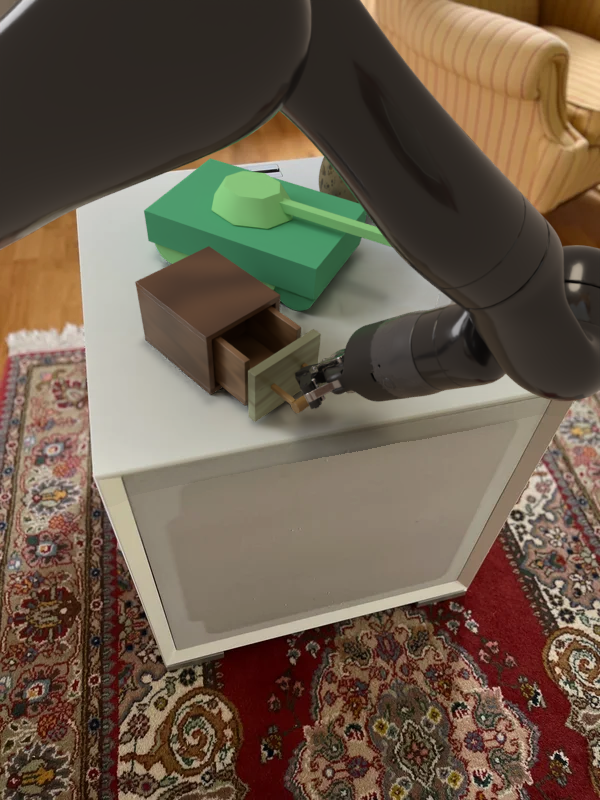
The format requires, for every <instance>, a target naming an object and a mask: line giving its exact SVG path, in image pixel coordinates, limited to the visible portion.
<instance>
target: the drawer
mask: <svg viewBox="0 0 600 800" xmlns="http://www.w3.org/2000/svg"><path fill="white" fill-rule="evenodd" d="M321 337H322V334H321V332H319V331H318V330H316V329H315V328H313V329H311V330H310V331H308V332H307V333H304V334H303V335H302V326H300V325H299V324H298V323H296V322H295V321H293V320H292V319H291V318H289V317H288V316H287V315H285V314H284V313H282V312H281V311H280V312H279V311H278V310H276V309H275V308H274V307H272V306H269V307H267V308H266V309H264V310H262V311H260V312H259V313H257V314H255V315H253V316H252V317H250V318H248V319H247V320H245V321H243V322H241V323H240V324H238V325H236V326H235V327H233V328H231V329H229V330H228V331H226V332H224V333H223V334H221V335H219V336H217V337H216V338H214V339H212V351H213V366H214V380H215V381H216V382H217V383H218V384H220V385H221V386H222V387H223V388H222V389H224V390H225V391H227V392H228V393H229V394H231V395H232V396H233V397H234V398H235V399H236V400H237V401H239V402H240V403H241V404H242V405H244V406H248V410H247V411H248V418H249V419H250V420H251V421H253V422H254V423H256V422H258V421H260V420H261V419H262V418H264V417H265V416H267V415H268V414H269V413H271V412H272V411H274V410H275V409H276V408H279V406H281V405H282V404H284V403H286V402H287V404H289V405H290V407H291V409H292V411H293V412H294V413H296V414H301V413H302V412H303V411H305V410H306V409H307V408H308V407H309V408H310V406H309V404H308V402H307V400H306V399H305V397H304V395H301V396H300V397H298V398H294V396H296V394H298V393H300V392H302V391H301V389H300V386H299V384H298V382H297V380H296V379H295V377H296V376H295V373H296V372H297V371H299V370H300V369H302V368H303V367H305V366H308V365H313V364H317V363H319V356H320V348H321V347H320V346H321Z"/></svg>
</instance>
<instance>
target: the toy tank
mask: <svg viewBox="0 0 600 800" xmlns="http://www.w3.org/2000/svg"><path fill="white" fill-rule="evenodd" d="M143 212H144V221H145V226H146V234H147V240H148V242H150V243H153V244H154V246H155V248H156V250H157V252H158V253H159V254H160V256H161V258H163V259H164V260H165V261H166V262H167V263H169V264H170V265H171V264H173V263H175V262H177V261H179V260H181V259H183V258H185V257H187V256H190V255H192V254H194V253H196V252H198V251H200V250H202V249H204V248H206V247H208V246H210V247H211V248H212V249H214V250H215V251H217V252H218V253H220V254H221V255H223V256H224V257H226V258H227V259H228V260H230V261H231V262H233V263H234V264H236V265H237V266H239V267H240V268H242V269H243V270H244V271H246V272H247V273H249V274H250V275H252V276H253V277H255V278H256V279H258V280H259V281H260V282H262V283H263V284H265V285H266V286H268V287H269V288H271V289H272V290H274V291H275V292H276V293H278V294H279V295H280V303H281V304H283V305H285V307H287V308H289V309H291V310H292V311H297V312H302V311H307V310H308V309H310V308H311V307H312V306H313V304H315V302H316V301H317V300H318V298H319V297H320V295H321V294H322V293H323V292H324V291H325V290H326V288H327V287H328V285H329V284H330V283H331V281H333V279H334V278H335V276H336V275H337V274H338V272H339V271H340V270H341V269H342V268H343V266H344V265H345V264H346V262H347V261H348V260H349V258H350V257H351V256H352V255H353V253H354V252H355V251H356V250H357V249H358V247H359V246H360V244H361V241H362V239H365V240H368V241H371V242H374V243H377V244H381V245H384V246H387V247H389V248H390V247H391V248H393V247H392V246H391V245H390V244H389V242H388V241H387V240H386V239H385V237H384V236H383V235H382V233H381V232H380V231H379V229H378V228H377V227H376V226H375V225H372V224H368V223H366V220H367V213H366V212H365V211H364V209H363V208H362V207H361V205H360V204H359V203H355V202H352V201H349V200H346V199H342V198H339V197H336V196H332V195H329V194H326V193H323V192H320V190H317V189H313V188H309V187H305V186H303V185H299V184H297V183H296V184H295V183H293V182H289V181H286V180H283V179H280V178H276V177H273V176H271V175H269V174H267V173H265V172H257V171H254V170H250V169H246V168H243V167H240V166H237V165H234V164H231V163H228V162H223V161H221V160H217V159H215V158H208V159H207V160H206V161H205V162H203V163H202V164H201V165H199V166H198V167H197V168H196V169H194V170H193V171H192V172H190V174H188V175H187V176H186V177H184V178H183V179H182V180H181V181H179V182H178V183H177V184H175V185H174V186H173V187H171V188H170V189H169V190H168V191H167V192H165V193H164V194H163V195H161V197H159V198H157V199H156V200H155V201H154V202H153V203H152V204H150V205H148V207H146V208H145V209H144V210H143Z"/></svg>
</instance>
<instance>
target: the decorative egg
mask: <svg viewBox="0 0 600 800" xmlns="http://www.w3.org/2000/svg"><path fill="white" fill-rule="evenodd" d="M318 189H319V190H318V191H319V192H323V193H326V194H329V195H332V196H336V197H339V198H342V199H346V200H349V201H352V202H355V203H359V202H358V201H357V200H356V198H355V197H354V195H353V194H352V193H351V191H350V190H349V189H348V187H347V186H346V184H345V183H344V182H343V180H342V179H341V177H340V176H339V175H338V174H337V172H336V171H335V170H334V168H333V167H332V166H331V165H330V163H329V162H328V161H327V159H326V158H325V157H324V156H323V158H322V161H321V164H320V167H319V172H318Z"/></svg>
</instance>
